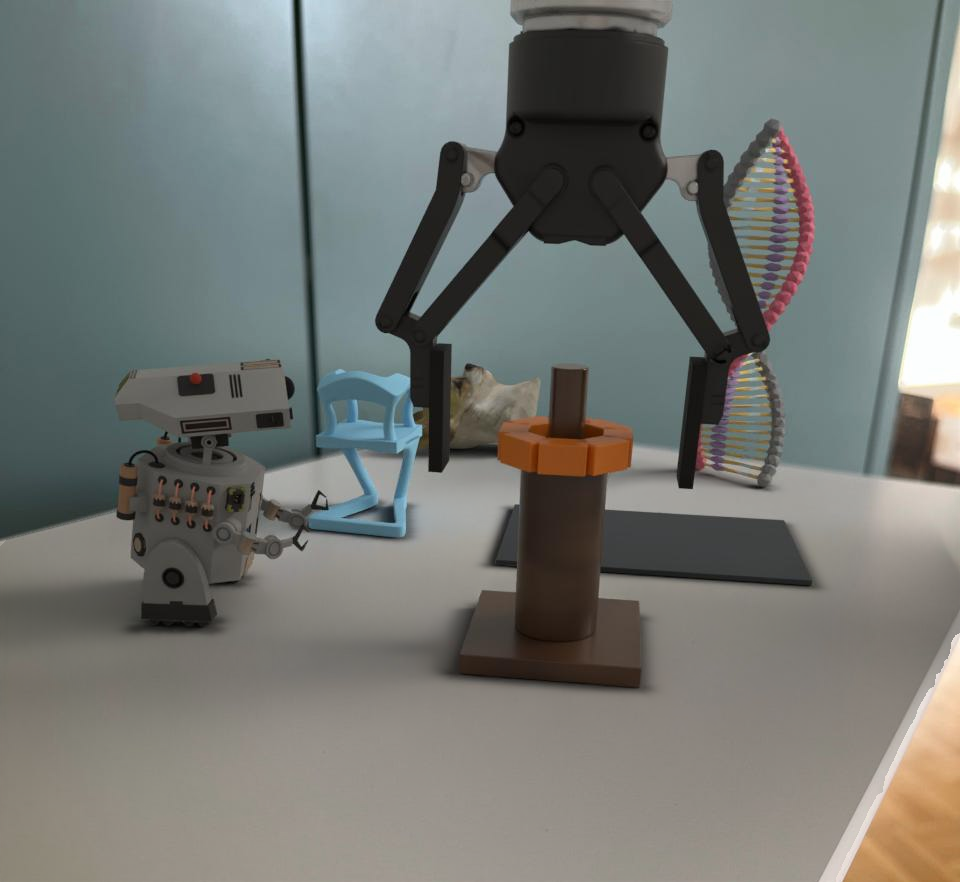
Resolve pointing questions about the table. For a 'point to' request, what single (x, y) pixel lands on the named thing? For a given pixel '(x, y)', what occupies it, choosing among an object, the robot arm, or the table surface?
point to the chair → (367, 446)
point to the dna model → (763, 294)
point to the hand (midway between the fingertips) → (560, 475)
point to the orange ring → (565, 448)
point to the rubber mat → (689, 547)
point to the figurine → (201, 481)
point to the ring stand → (558, 576)
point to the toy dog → (482, 407)
